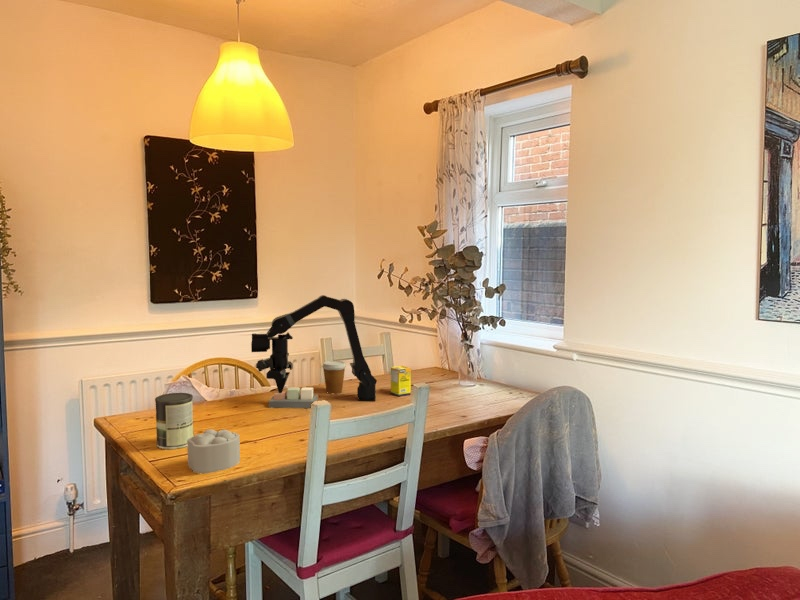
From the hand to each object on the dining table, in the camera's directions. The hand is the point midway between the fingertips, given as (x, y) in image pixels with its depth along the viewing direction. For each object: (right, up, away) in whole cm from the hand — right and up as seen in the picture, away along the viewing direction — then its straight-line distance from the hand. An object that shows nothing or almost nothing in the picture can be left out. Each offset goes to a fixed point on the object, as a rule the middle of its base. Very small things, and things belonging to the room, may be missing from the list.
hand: (280, 392), depth 211 cm
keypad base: (+5, -4, 0) cm, 7 cm away
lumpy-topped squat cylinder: (-5, -10, -59) cm, 60 cm away
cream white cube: (+10, -3, 0) cm, 10 cm away
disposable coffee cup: (+18, -3, +19) cm, 27 cm away
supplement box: (+45, -4, +17) cm, 48 cm away
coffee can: (-22, -8, -44) cm, 49 cm away
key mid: (+5, -3, 0) cm, 6 cm away
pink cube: (0, -4, 0) cm, 4 cm away
